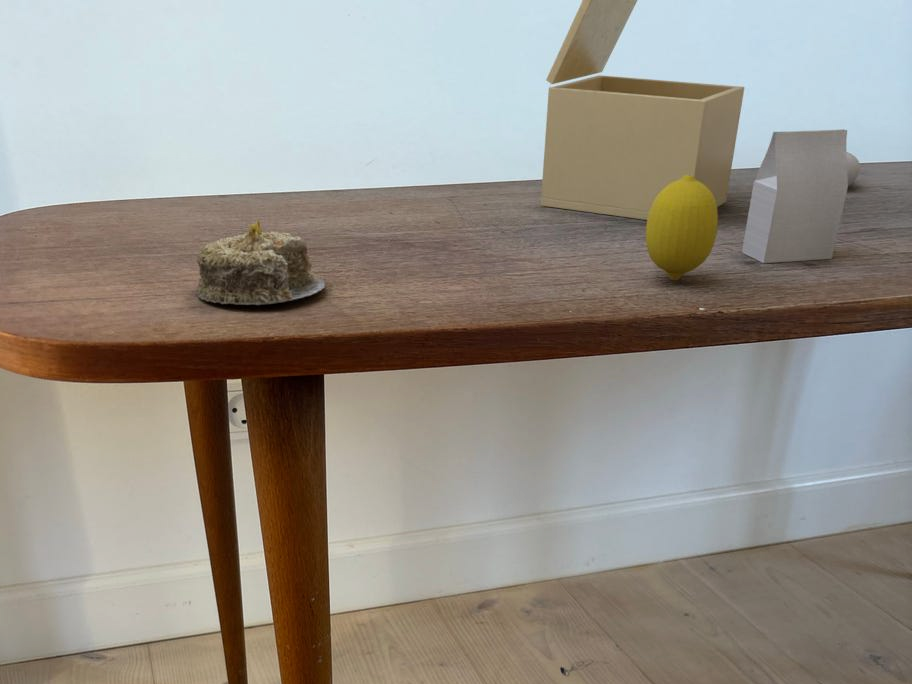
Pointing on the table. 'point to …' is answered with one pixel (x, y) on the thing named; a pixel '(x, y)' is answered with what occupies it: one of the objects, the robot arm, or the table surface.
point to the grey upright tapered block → (798, 197)
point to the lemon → (682, 226)
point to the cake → (256, 269)
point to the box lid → (590, 39)
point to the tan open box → (635, 142)
